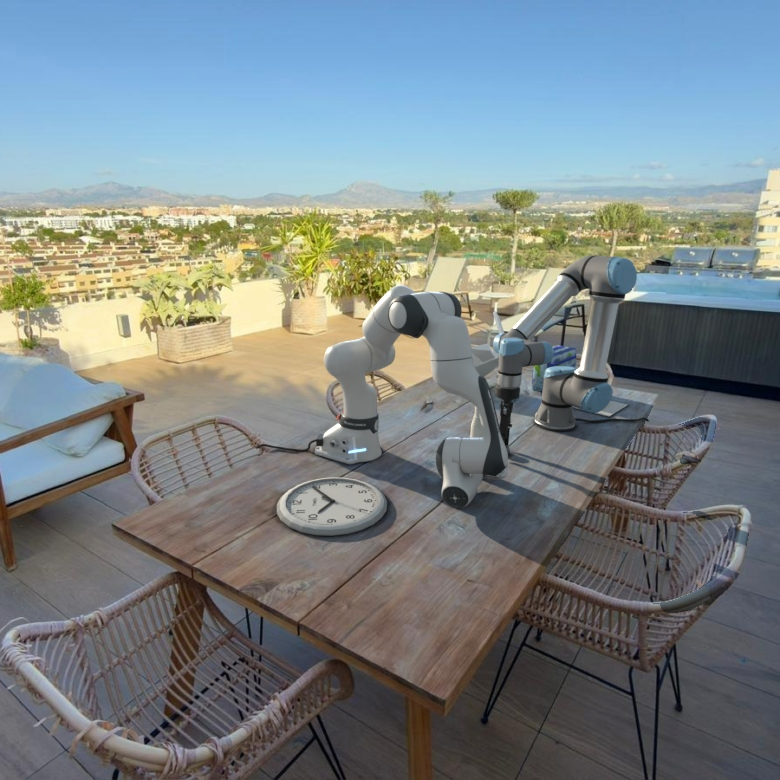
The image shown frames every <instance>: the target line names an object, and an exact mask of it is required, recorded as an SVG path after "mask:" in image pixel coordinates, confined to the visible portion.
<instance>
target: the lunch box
mask: <svg viewBox="0 0 780 780" xmlns="http://www.w3.org/2000/svg"><path fill="white" fill-rule="evenodd" d="M552 347H553V351H554V353H553V359H552V360H551V361H550V362H549V363H547V364H543V365H535V366H532V376H531V377H532V378H531V390H532V391H533V392H537V393H541V394H542V391H543V378H544V375H545V370H546V369H547V368H549V367H555V366H568V367H575V368H576V364H577V363H576V362H577V348H576V347H571V346H565V345H553V346H552Z"/></svg>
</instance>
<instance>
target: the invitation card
mask: <svg viewBox="0 0 780 780" xmlns="http://www.w3.org/2000/svg"><path fill="white" fill-rule="evenodd" d="M628 406H629V404H627V403H623V402H618V401H614V400H610V402H609V404H608V405H607V406H606V407H605V408H604V409H603V410H602V411H600V412H597V413H595V414H596V415H600V416H604V417H608V418H609V417H611V416H613V415H614V414H616V413H617V412H619V411H621V410H623V409H624V408H626V407H628ZM573 409H575V410H581V409H579V408H577V407H574V406H573ZM581 411H582V410H581Z"/></svg>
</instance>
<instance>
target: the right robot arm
mask: <svg viewBox="0 0 780 780" xmlns="http://www.w3.org/2000/svg"><path fill="white" fill-rule="evenodd" d="M637 274H638V273H637V268H636V266H635V264H634V262H633V261H632V260H631V259H629V258H627V257H620V256H608V255H595V254H594V255H593V254H590V255H587V256H583V257H580V258H579V259H577V260H575V261H574V262H573V263H571V264H570V265H569V266H567V267H566V268H564V269H563V270H562V272H560V274H559V275H557V276H556V278H555V282H554V284H552V286H551V287H550V288H549V289H548V290H547V291H546V292H545V293H544V294H542V296H541V297H540V298H539V300H537V301H536V302H535V304H534V305H533V306H531V308H529V310H528V311H527V312H526V313H525V314H523V316H522V317H521V318H520V319H519V320H518V321H517V322H516V324H515V325H513V327H512V328H511V329H509V331H508V332H507V333H506V332H504V333H501V334H499V333H498V334H496V335H495V337H494V339H493V341H492V349H493V350H494V351H495V352H497V353H498V354H499V366H498V367H497V368H498V369H497V374H496V375H495V378H496V379H497V382H496V384H497V386H496V390H495V396H496V398H498V399H500V400H501V402H500V404H499V405H500V406H499V408H500V411H499V417H500V419H499V420H500V422H499V426H500V430H501V434H502V437H503V440H504V443H505V446H506V448H507V446H508V447H509V441H510V430H511V428H513V424H512V419H511V418H512V412H513V408H514V401H517V400H518V399H519V398H520V394H521V387H522V386H521V377H522V371H523V368H526V367H533V366H535V365H543V364H547V363H549V362H550V361H551V360H552V359H553V353H554V351H553V347H554V346H553V345H552V344H551V343H549V342H548V341H532V339H533V338H534V337H535V336H536V335H537V334H538V332H539V331H540V330H542V329H543V327H544V326H545V325H546V324H547V323H548V322H549V321H550V320H551V319H552V318H553V317H554V316H555V315H556V314H557V312H559V311H560V310H561V308H563V306H564V305H565V304H567V302H568V301H569V300H570V299H571V298H572V297H575V296H577V295H579V293H581V292H582V291H584V290H588V297H589V298H590V299H591V304H590V311H589V316H588V320H587V327H586V332H585V336H584V341H583V347H582V352H581V359H580V363H579V367H578V368H577V367H576V366H575V367H568V366H555V367H549V368H547V369H546V370H545V375H544V378H543V391H542V393H541V402H540V405H539V407H538V410H537V411H536V412H535V414H534V424H535V425H536V426H537V427H539V428H542V429H544V430H549V431H556V432H567V431H572V430H574V429H575V428H576V421H577V422H584V423H588V424H589V423H591V424H592V423H593V424H594V423H596V424H597V423H604V422H631V423H632V422H633V423H635V422H641V421H646V422H650V419H648V418H647V417H640V418H636V419H635V418H634V419H633V418H602V419H594V420H593V419H585V418H579V417H576V416H575V413H574V407H577V408H579V409H578V410H580V409H581V411H583V412H587V413H590V414H596V413H597V412H600V411H602V410H603V409H604V408H605V407H606V406H607V405H608V404H609V402H610V401H612V398H613V395H614V390H613V388H612V385H611V384H610V383H608V380H609V375H608V373H607V372H606V368H607V363H608V358H609V354H610V348H611V343H612V339H613V334H614V330H615V329H614V328H615V323H616V319H617V314H618V309H619V305H620V303H621V302H623V301H624V300H625V299H626V295H627V294H630V293H631V292H632V291H633V289H634V288H635V286H636V283H637V280H638V275H637Z"/></svg>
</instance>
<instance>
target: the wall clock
mask: <svg viewBox="0 0 780 780" xmlns="http://www.w3.org/2000/svg"><path fill="white" fill-rule="evenodd" d="M387 509H388V500H387V498H386V496H385V494H384V493H383V492H382V491H381V490H380V489H379V488H377V487H376V486H374V485H372V484H371V483H369V482H365V481H362V480H359V479H355V478H349V477H338V476H337V477H335V476H333V477H332V476H331V477H322V478H317V479H312V480H307V481H305V482H302V483H299V484H297V485H295V486H293V487H292V488H290V489H288V490H287V491H286V492H285V493H284V494H283V495H281V496H280V498H279V499H278V502H277V503H276V515H277V517H278V518H279V520H280V521H281V522H282V523H283V524H285V525H286V526H287V527H288V528H290V529H293V530H295V531H297V532H299V533H303V534H308V535H312V536H327V537H328V536H329V537H331V536H332V537H333V536H342V535H350V534H352V533H356V532H361V531H363V530H366V529H368V528H369V527H372V526H373V525H375V524H376V523H378V522H379V521H380V520H381V519H382V518H383V517H384V516H385V514H386V512H387Z"/></svg>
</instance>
